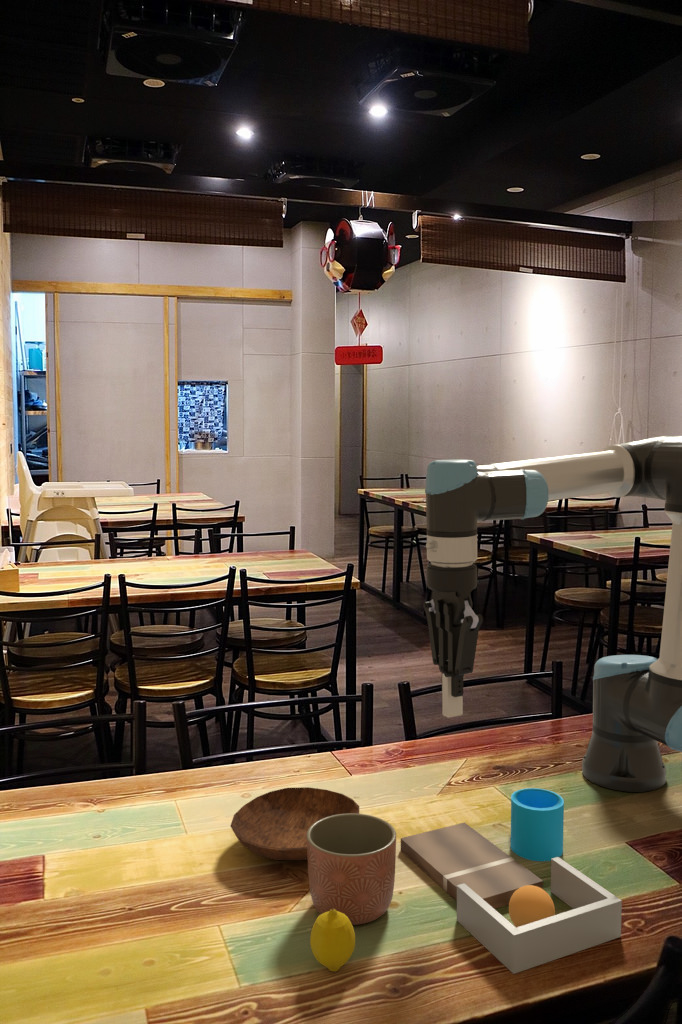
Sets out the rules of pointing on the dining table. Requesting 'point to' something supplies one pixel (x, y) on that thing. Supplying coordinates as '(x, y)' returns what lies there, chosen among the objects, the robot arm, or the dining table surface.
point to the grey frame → (545, 921)
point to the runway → (468, 863)
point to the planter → (352, 865)
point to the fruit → (332, 939)
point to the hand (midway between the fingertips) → (452, 714)
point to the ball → (530, 905)
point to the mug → (537, 824)
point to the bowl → (286, 820)
